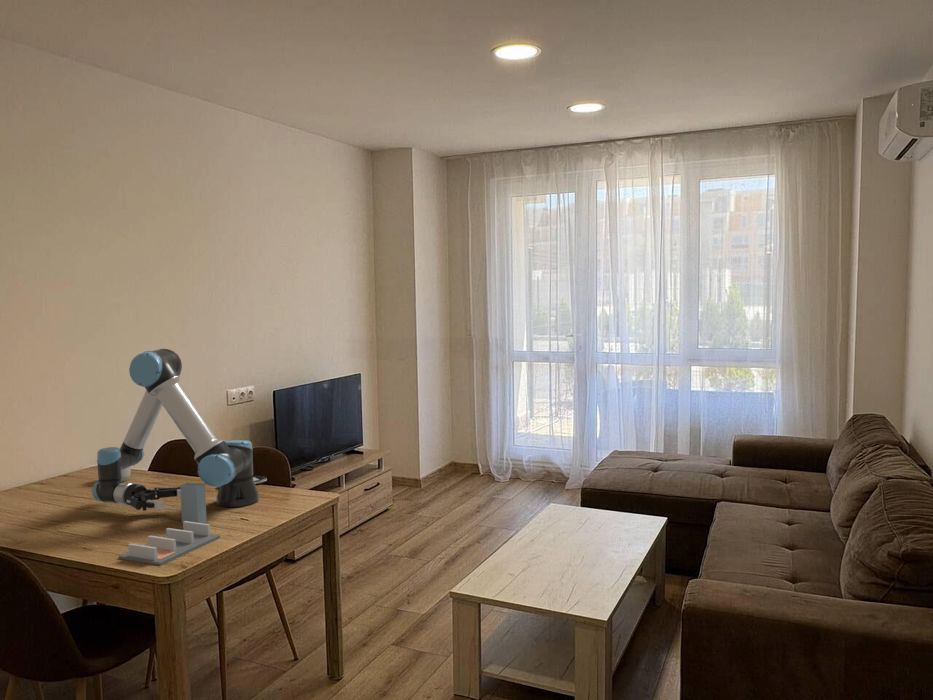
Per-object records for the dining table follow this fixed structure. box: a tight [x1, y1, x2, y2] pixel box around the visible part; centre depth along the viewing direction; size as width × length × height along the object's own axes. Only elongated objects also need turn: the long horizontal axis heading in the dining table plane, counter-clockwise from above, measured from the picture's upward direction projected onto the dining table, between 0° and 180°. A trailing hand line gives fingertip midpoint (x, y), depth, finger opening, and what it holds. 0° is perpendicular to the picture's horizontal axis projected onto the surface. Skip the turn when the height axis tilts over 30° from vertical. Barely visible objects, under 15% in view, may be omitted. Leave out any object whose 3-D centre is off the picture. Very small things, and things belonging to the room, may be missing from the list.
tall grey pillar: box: [179, 482, 208, 524], centre depth 249 cm, size 4×7×13 cm, turn 68°
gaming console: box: [218, 475, 268, 488], centre depth 296 cm, size 19×9×2 cm, turn 130°
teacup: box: [121, 466, 132, 482], centre depth 303 cm, size 14×11×8 cm
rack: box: [118, 521, 221, 566], centre depth 225 cm, size 25×16×4 cm, turn 158°
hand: (178, 500), depth 251 cm, fingers open, 13 cm apart
